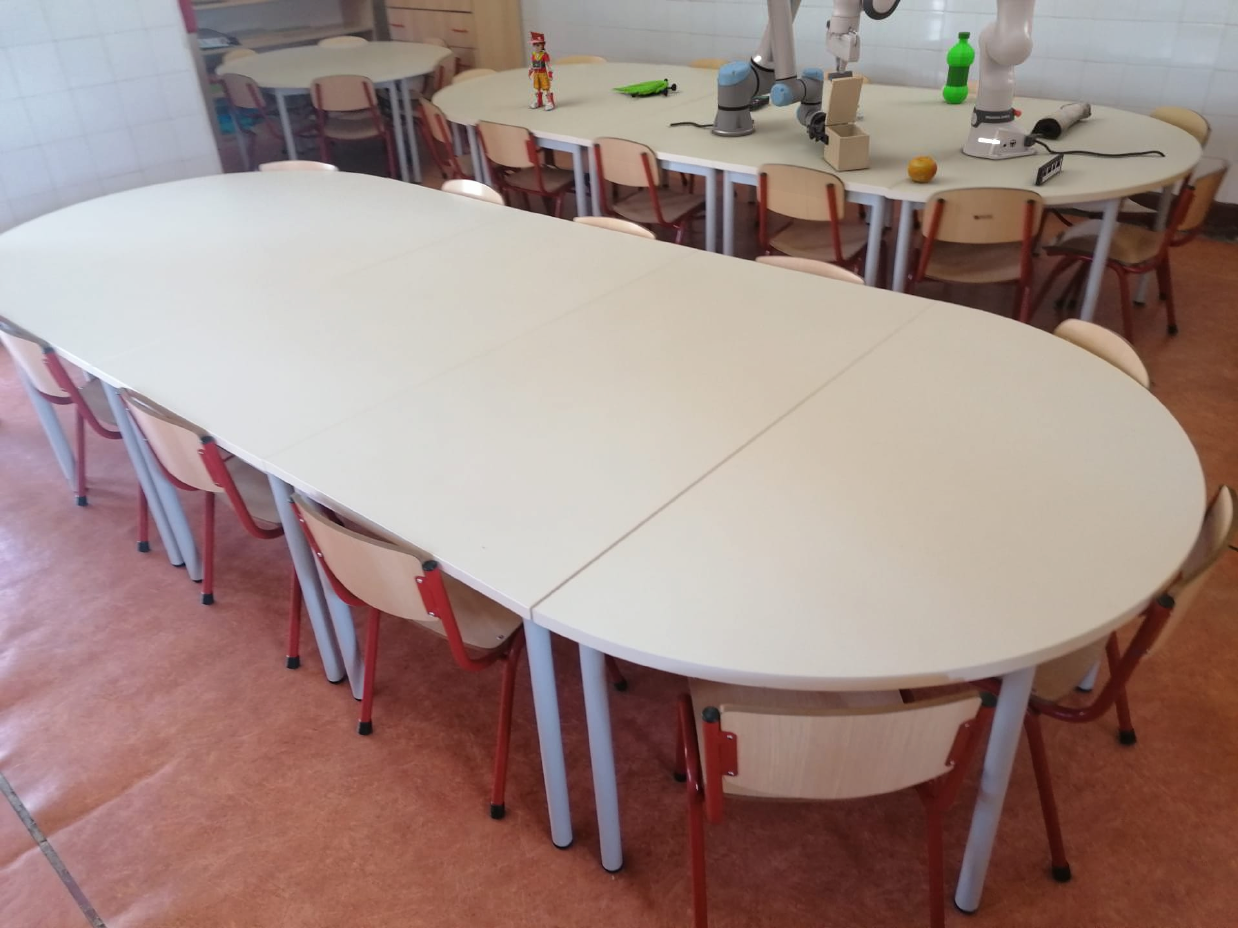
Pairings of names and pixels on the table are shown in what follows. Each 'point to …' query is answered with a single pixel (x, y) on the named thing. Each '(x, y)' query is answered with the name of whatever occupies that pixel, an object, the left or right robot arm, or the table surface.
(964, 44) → the plastic bottle
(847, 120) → the lid
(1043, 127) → the rolled mat
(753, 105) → the disk drive
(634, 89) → the toy
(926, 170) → the fruit
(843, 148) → the chest
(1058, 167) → the midi keyboard
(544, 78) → the toy
